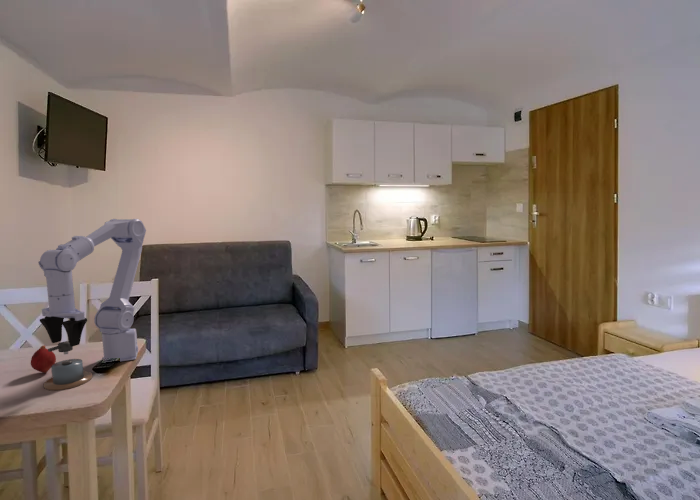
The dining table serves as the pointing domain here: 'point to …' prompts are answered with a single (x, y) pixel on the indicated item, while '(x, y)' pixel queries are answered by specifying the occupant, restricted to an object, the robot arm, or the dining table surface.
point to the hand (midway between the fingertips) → (65, 343)
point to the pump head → (62, 347)
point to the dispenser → (67, 375)
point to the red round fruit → (43, 359)
